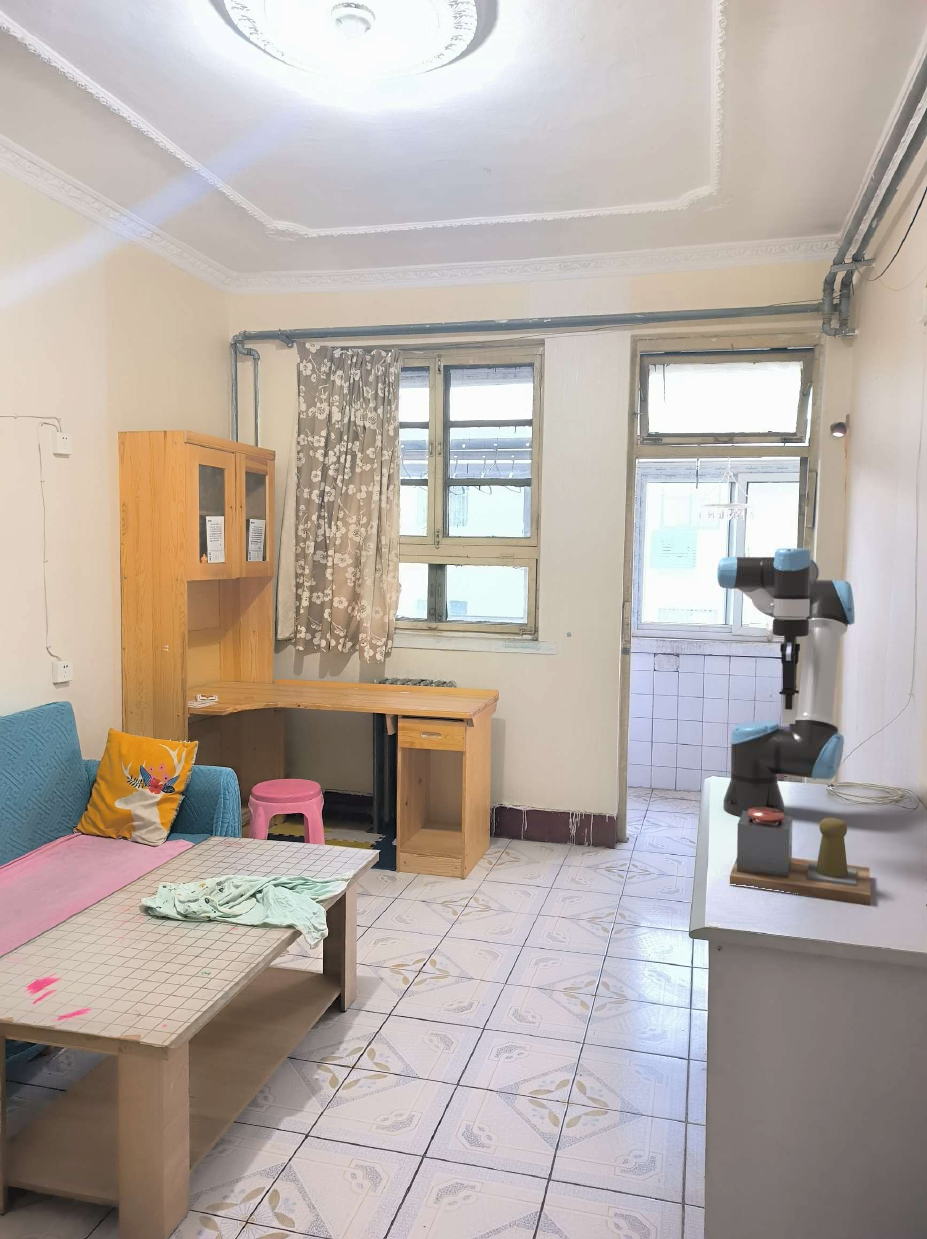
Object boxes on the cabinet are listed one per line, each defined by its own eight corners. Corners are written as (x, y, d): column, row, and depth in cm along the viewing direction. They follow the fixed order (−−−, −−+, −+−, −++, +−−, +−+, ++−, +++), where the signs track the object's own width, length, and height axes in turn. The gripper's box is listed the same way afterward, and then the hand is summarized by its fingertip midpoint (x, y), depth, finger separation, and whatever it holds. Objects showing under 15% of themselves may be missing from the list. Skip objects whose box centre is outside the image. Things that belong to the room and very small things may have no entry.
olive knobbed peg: (849, 879, 175) (850, 825, 174) (816, 875, 177) (817, 822, 176) (847, 869, 181) (848, 816, 180) (815, 865, 183) (816, 813, 182)
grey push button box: (742, 856, 191) (743, 810, 190) (791, 862, 187) (792, 816, 186) (736, 871, 182) (737, 823, 181) (788, 878, 178) (789, 829, 177)
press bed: (739, 860, 194) (739, 848, 194) (869, 876, 183) (869, 864, 183) (729, 885, 179) (729, 872, 179) (870, 905, 169) (870, 891, 169)
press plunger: (749, 847, 188) (749, 805, 188) (783, 852, 186) (784, 809, 185) (745, 858, 182) (746, 814, 181) (781, 862, 179) (782, 818, 179)
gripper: (775, 615, 203) (773, 716, 205) (770, 619, 191) (768, 727, 193) (810, 616, 200) (807, 719, 202) (807, 620, 188) (805, 729, 190)
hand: (788, 722), depth 197 cm, fingers closed
